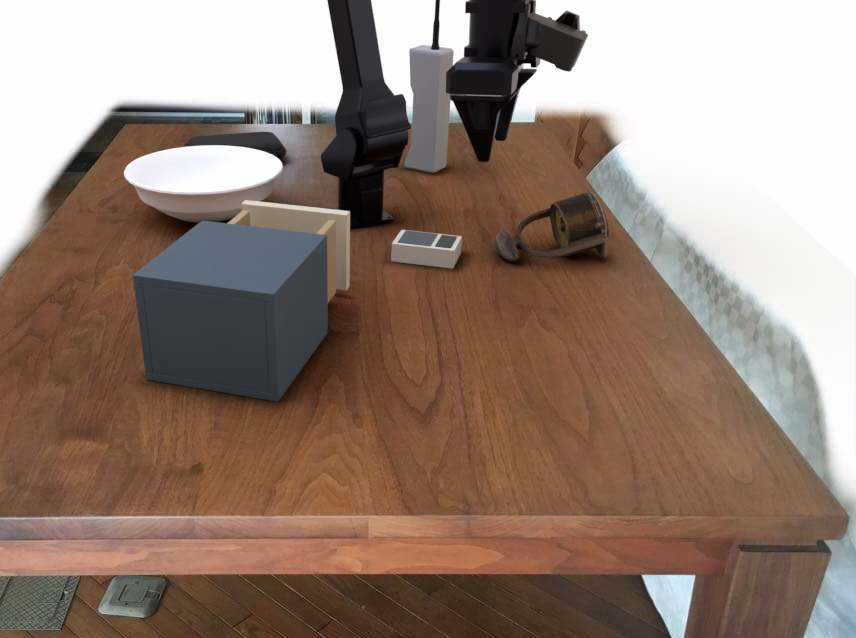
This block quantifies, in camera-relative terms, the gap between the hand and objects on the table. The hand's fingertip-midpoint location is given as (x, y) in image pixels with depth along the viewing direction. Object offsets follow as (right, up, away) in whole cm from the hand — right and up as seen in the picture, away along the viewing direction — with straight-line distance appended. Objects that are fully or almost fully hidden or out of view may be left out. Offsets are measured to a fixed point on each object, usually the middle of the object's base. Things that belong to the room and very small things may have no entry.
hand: (492, 150), depth 95 cm
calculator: (-6, -10, +9) cm, 15 cm away
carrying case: (-31, +10, +42) cm, 54 cm away
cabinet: (-25, -22, -11) cm, 35 cm away
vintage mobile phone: (-3, +8, +39) cm, 40 cm away
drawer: (-22, -16, -2) cm, 27 cm away
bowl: (-33, -2, +22) cm, 39 cm away
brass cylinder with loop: (+9, -9, +10) cm, 16 cm away
